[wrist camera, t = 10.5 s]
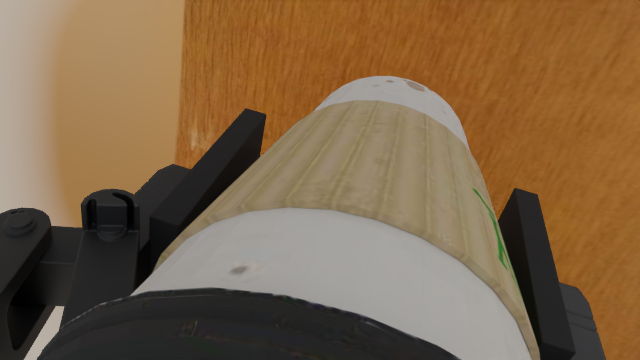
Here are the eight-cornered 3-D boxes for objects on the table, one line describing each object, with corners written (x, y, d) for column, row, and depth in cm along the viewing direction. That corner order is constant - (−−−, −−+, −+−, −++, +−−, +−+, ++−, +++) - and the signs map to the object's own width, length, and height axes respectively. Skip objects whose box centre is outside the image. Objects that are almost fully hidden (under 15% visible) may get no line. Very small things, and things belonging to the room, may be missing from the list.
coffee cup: (372, 285, 23) (271, 764, 11) (216, 132, 21) (-141, 517, 8) (576, 175, 18) (825, 827, 6) (402, -42, 16) (198, 272, 3)
